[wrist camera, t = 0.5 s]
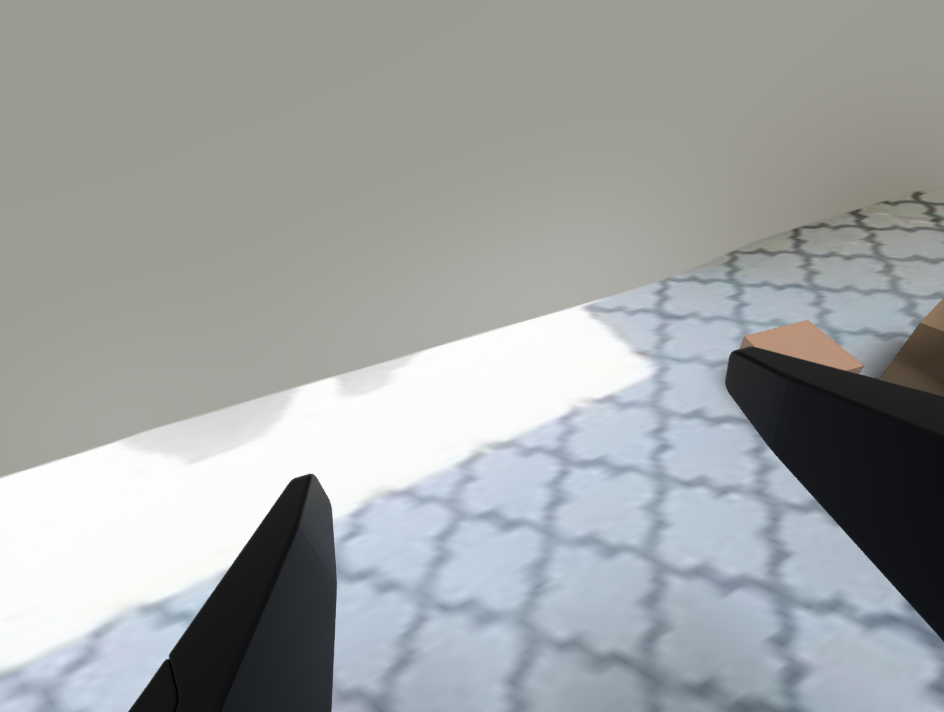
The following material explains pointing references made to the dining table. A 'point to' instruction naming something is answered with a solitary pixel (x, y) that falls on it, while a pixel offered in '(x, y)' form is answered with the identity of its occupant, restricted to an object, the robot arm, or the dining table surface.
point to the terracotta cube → (804, 345)
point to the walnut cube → (922, 356)
